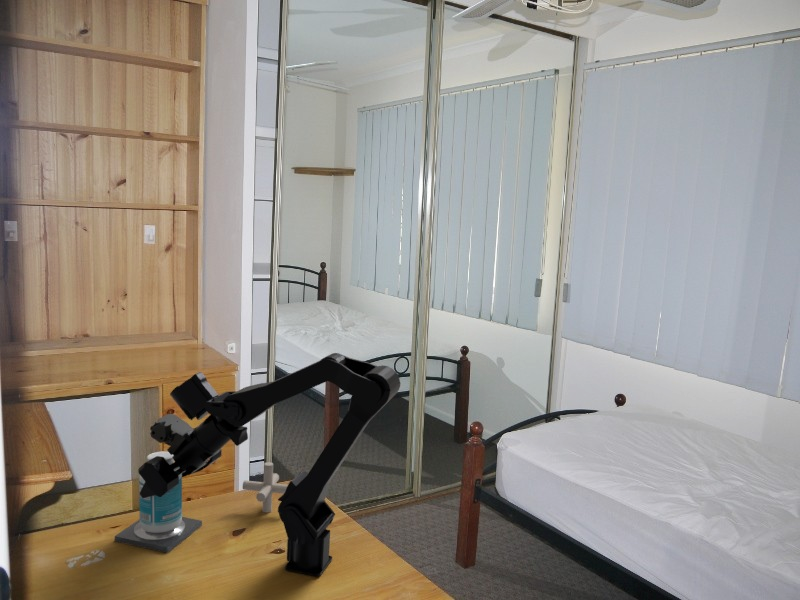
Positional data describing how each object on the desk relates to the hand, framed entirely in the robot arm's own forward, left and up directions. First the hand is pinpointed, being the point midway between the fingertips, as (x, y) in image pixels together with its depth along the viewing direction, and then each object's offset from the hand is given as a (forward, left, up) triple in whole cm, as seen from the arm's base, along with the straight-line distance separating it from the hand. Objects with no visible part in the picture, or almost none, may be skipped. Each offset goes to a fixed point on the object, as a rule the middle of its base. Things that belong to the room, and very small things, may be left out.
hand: (154, 487), depth 123 cm
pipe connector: (-15, -16, -9) cm, 24 cm away
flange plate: (-1, 0, -9) cm, 9 cm away
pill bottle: (-1, 0, -7) cm, 7 cm away
